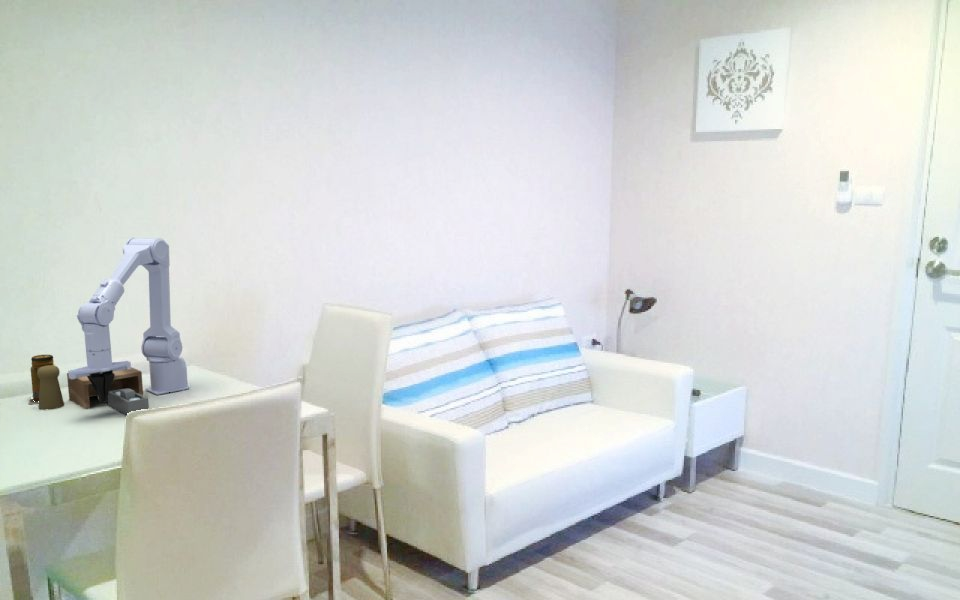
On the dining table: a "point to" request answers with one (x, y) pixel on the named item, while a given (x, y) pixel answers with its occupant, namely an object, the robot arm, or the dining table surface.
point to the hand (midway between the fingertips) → (103, 401)
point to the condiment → (36, 364)
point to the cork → (49, 388)
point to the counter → (123, 379)
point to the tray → (127, 400)
